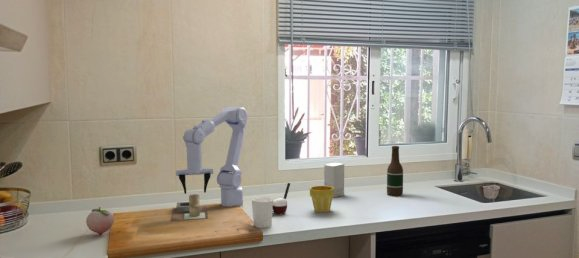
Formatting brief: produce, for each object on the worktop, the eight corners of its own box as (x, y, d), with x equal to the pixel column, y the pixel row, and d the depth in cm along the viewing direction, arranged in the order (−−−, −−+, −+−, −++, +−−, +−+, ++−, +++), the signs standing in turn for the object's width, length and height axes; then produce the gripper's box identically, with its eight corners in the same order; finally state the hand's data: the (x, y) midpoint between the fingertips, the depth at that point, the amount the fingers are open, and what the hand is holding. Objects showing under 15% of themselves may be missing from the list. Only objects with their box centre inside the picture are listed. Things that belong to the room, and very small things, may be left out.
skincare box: (335, 193, 225) (335, 162, 224) (345, 195, 220) (345, 163, 219) (323, 195, 219) (323, 164, 218) (333, 197, 215) (333, 165, 213)
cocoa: (271, 216, 184) (269, 187, 183) (268, 212, 190) (267, 184, 189) (293, 214, 186) (292, 185, 185) (290, 209, 192) (289, 182, 191)
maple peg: (199, 213, 180) (199, 194, 180) (200, 216, 176) (199, 196, 176) (189, 214, 179) (188, 194, 179) (189, 217, 175) (189, 196, 175)
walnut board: (206, 209, 195) (206, 205, 194) (208, 222, 174) (208, 218, 174) (172, 211, 192) (172, 207, 192) (170, 225, 171) (170, 221, 171)
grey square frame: (197, 207, 192) (197, 201, 192) (197, 212, 184) (197, 206, 184) (177, 208, 191) (176, 202, 190) (176, 213, 182) (176, 207, 182)
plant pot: (304, 210, 191) (304, 188, 191) (320, 206, 199) (320, 184, 198) (323, 215, 184) (323, 191, 184) (339, 210, 192) (339, 187, 191)
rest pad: (204, 213, 183) (204, 212, 183) (205, 218, 175) (205, 217, 175) (184, 214, 181) (184, 213, 181) (184, 219, 173) (184, 218, 173)
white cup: (257, 229, 165) (256, 202, 164) (248, 224, 172) (248, 198, 171) (276, 226, 168) (276, 200, 168) (267, 221, 175) (267, 196, 175)
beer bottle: (404, 196, 216) (405, 147, 214) (388, 196, 216) (389, 147, 215) (401, 193, 224) (401, 145, 222) (385, 193, 224) (385, 145, 222)
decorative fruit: (80, 236, 158) (79, 208, 157) (98, 230, 165) (97, 203, 164) (101, 239, 154) (100, 211, 154) (118, 232, 162) (117, 205, 161)
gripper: (175, 161, 174) (176, 195, 175) (213, 159, 177) (214, 193, 178) (175, 158, 181) (176, 192, 182) (212, 157, 184) (213, 189, 185)
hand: (195, 192), depth 180 cm, fingers open, 7 cm apart
